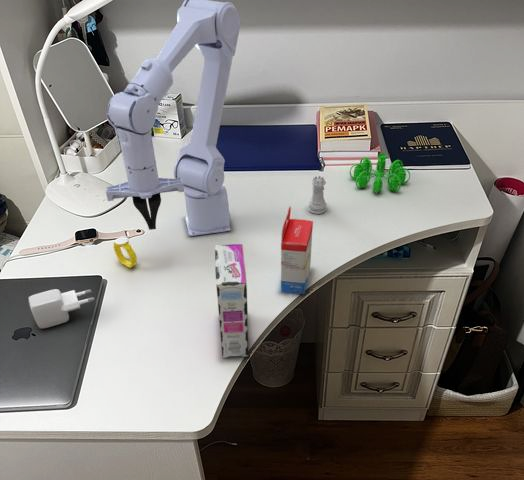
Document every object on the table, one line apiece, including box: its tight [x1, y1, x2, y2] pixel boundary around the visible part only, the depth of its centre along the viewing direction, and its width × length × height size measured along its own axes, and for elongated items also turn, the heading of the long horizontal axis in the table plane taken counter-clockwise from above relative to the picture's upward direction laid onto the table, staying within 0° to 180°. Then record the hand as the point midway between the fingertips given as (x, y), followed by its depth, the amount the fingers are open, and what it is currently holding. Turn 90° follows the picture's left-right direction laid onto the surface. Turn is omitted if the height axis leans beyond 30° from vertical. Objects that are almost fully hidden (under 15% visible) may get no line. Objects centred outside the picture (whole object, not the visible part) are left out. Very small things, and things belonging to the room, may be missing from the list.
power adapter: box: [28, 288, 95, 329], centre depth 100 cm, size 11×5×6 cm, turn 115°
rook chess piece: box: [307, 175, 327, 215], centre depth 125 cm, size 4×4×8 cm
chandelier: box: [349, 153, 411, 194], centre depth 134 cm, size 15×15×7 cm
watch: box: [113, 236, 138, 269], centre depth 111 cm, size 6×3×6 cm, turn 47°
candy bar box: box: [214, 243, 250, 359], centre depth 92 cm, size 11×5×16 cm, turn 5°
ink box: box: [280, 205, 314, 295], centre depth 103 cm, size 8×5×15 cm, turn 168°
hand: (152, 226), depth 109 cm, fingers closed
